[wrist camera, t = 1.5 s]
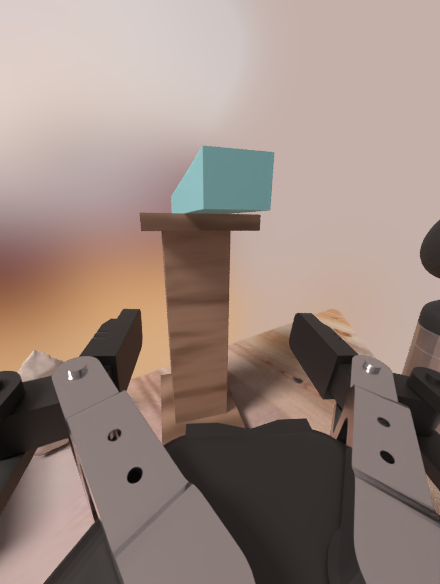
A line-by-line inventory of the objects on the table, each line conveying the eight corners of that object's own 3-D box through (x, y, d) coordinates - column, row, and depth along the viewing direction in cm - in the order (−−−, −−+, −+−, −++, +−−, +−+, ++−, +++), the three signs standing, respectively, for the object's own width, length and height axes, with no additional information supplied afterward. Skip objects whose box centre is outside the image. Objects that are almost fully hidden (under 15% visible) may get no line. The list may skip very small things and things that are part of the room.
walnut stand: (246, 442, 33) (260, 214, 23) (163, 463, 30) (139, 212, 20) (219, 374, 48) (220, 216, 38) (161, 383, 45) (146, 215, 35)
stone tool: (19, 477, 28) (-18, 379, 24) (15, 459, 31) (-20, 366, 26) (96, 429, 35) (78, 345, 30) (88, 417, 37) (70, 337, 32)
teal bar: (270, 210, 13) (274, 152, 12) (203, 208, 12) (202, 145, 11) (195, 216, 39) (195, 197, 38) (172, 216, 38) (171, 196, 37)
